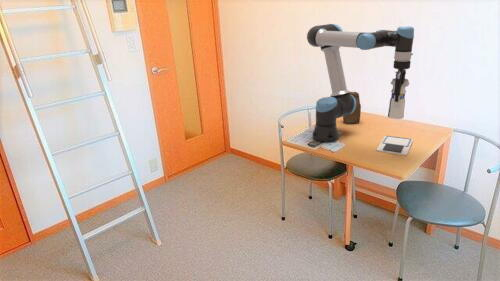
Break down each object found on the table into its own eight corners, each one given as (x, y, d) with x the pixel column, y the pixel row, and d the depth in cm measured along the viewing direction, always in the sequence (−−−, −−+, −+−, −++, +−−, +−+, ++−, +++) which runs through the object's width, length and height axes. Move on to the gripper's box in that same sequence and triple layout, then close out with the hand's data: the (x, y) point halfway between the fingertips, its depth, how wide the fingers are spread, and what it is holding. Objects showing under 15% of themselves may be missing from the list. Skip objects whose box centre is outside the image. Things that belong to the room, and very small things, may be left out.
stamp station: (376, 151, 191) (376, 148, 190) (385, 137, 208) (385, 134, 208) (406, 155, 183) (407, 153, 183) (412, 140, 201) (413, 138, 201)
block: (342, 123, 233) (344, 93, 226) (342, 120, 240) (343, 91, 233) (360, 124, 231) (362, 93, 224) (359, 120, 238) (361, 91, 230)
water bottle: (406, 119, 180) (413, 69, 171) (388, 119, 182) (394, 69, 172) (403, 114, 188) (409, 66, 178) (386, 114, 189) (391, 66, 180)
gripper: (407, 64, 164) (401, 111, 172) (413, 57, 180) (408, 101, 189) (390, 63, 168) (385, 110, 176) (397, 56, 184) (393, 99, 192)
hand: (397, 105), depth 182 cm, fingers closed on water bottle, 7 cm apart
